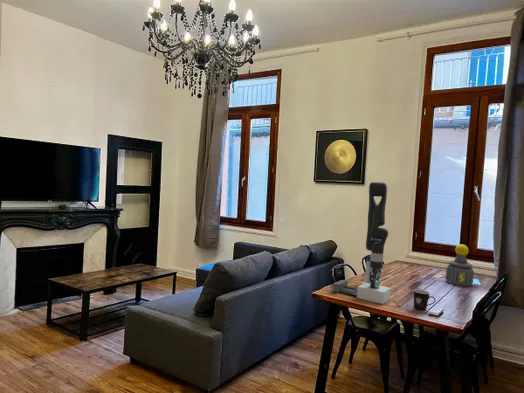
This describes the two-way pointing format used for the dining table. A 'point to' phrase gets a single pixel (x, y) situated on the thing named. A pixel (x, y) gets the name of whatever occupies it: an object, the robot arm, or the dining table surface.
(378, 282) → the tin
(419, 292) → the coffee mug
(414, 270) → the dining table surface
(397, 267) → the dining table surface
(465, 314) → the dining table surface
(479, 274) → the dining table surface
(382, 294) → the white rectangular block
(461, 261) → the decorative lamp
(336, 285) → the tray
